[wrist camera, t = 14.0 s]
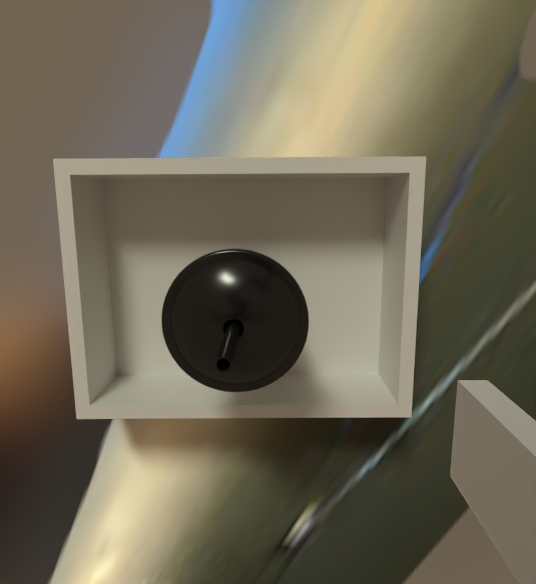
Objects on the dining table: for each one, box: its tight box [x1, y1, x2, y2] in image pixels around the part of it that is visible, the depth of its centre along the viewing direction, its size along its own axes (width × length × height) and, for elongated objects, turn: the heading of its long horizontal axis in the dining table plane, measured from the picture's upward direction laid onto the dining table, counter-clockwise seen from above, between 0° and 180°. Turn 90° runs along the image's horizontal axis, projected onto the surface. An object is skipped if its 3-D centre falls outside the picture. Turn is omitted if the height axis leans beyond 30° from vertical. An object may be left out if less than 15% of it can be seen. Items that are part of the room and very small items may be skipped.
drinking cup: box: [161, 249, 309, 392], centre depth 27 cm, size 8×8×20 cm
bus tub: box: [53, 157, 426, 419], centre depth 35 cm, size 24×18×7 cm
